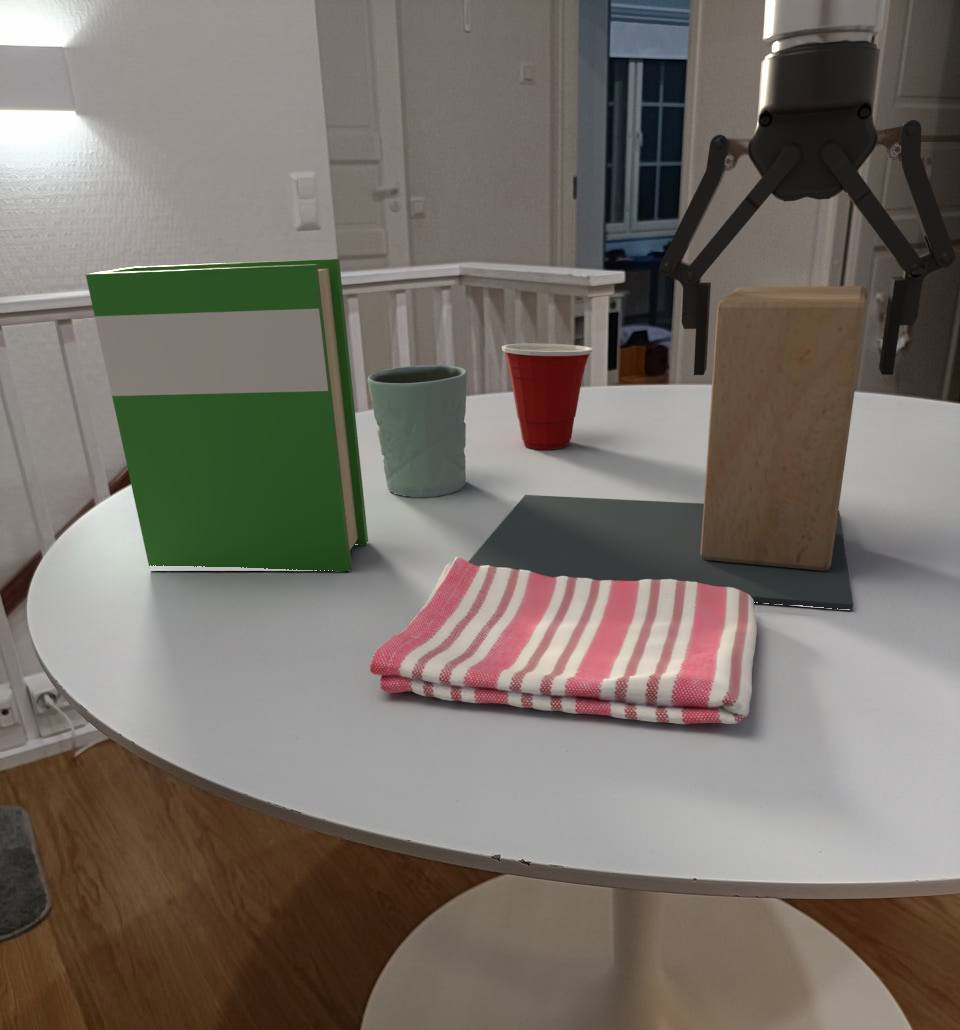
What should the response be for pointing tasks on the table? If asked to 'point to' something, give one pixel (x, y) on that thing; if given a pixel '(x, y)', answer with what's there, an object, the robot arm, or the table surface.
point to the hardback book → (235, 411)
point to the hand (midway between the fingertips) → (790, 372)
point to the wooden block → (780, 423)
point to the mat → (647, 549)
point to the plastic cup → (546, 390)
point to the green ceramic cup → (421, 428)
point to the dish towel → (578, 646)
